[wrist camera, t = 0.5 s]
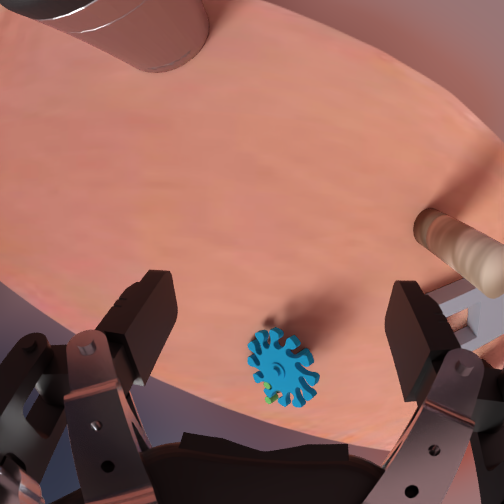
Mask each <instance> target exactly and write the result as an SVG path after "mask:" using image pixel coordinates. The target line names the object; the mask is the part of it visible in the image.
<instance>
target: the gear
mask: <svg viewBox="0 0 504 504" xmlns="http://www.w3.org/2000/svg"><path fill="white" fill-rule="evenodd" d="M269 335H270V339H271V343H270V345H269V344H268V341H267V340H268V337H269ZM283 335H284V333H283V331H282V330H281V329H279V328H277V327H275V328H273V329H271V330H270V331H269V333H268V331H267V330H261V331H259V332H257V333H255V336H256V338H257V339H255V340H253V341H251V342H250V343H249V344H248V348H249V350H251V351H252V352H253V353H254V354H253V355H251V356H249V357H248V364H249V365H250V366H253V367H256V368H257V369H259V370H260V371H258V372H256V373H254V374H253V377H254V380H255V382H256V383H260V382H262V381H264V386H265V389H264V392H265V394H266V395H267V397H265V401H266V402H267V403H268V404H271V403H272V402H274V401H275V400H277V399H278V395H277V393H280V392H282V394H283V396H282V397H280V398H279V399H278V403H280V404H281V405H282V406H284V407H286V406H287V405H288V404H290V403H291V399H290V393H292V394H293V396H294V399H293V401H292V404H293V406H295V407H302V406H304V405H305V404H306V401H309V400H311V399H312V398H313V397H314V396H315V395H316V394H317V392H316V391H315V390H314V389H313V388H311V387H310V386H314V385H315V384H316V383H318V381H319V377H320V375H319V374H318V373H317V372H311V371H308V370H306V369H305V368H304V367H303V366H305V367H308V366H310V365H311V364H313V363H314V359H313V356H312V353H310V351H309V349H307V348H305V349H303V350H302V351H300V352H299V353H297V354H293V353H292V352H291V350H290V349H292V350H293V349H295V348H297V347H298V346H300V344H301V342H300V341H299V339H298V338H297V337H296V336H295V335H293V336H291V337H289V338H288V339H287V340H286V344H285V346H284V347H282V346H281V345H280V344H279V342H278V340H279V339H280V338H281V337H283ZM260 345H261V348H260ZM261 349H262V350H261ZM300 363H301V364H302V365H303V366H301V364H300ZM304 378H305V379H306V381H307V383H308V384H309V385H310V386H309V385H308V384H307V383H306V381H305V379H304ZM300 389H301V390H302V391H303V396H302V394H301V392H300ZM303 397H304V398H303ZM305 400H306V401H305Z"/></svg>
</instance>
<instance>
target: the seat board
mask: <svg viewBox="0 0 504 504" xmlns="http://www.w3.org/2000/svg"><path fill="white" fill-rule="evenodd" d="M424 295H429V296H430V297H431V298H433V299H434V300H435V301H436V302H437V303H438V304H439V306H440V308H441V310H442V312H443V315H445V317H448V316H451V315H453V314H455V313H457V312H459V311H462V310H464V309H466V308H468V320H467V326H466V327H464V328H462V329H460V330H458V331H456V332H454V334H455V336H456V338H457V340H458V342H459V344H460V346H461V348H462V349H467V350H470V351H474V350H475V349H477V348H479V347H481V346H483V345H485V344H487V343H488V342H490V341H492V340H494V339H495V338H497V337H499V336H501V335H502V334H504V294H503V295H501V296H500V297H498V298H495V299H491V298H488V297H487V296H486V295H484V294H483V293H482V292H481V291H480V290H478V289H477V288H476V287H475V286H474V285H472V284H471V283H470V282H469V281H468V280H466V279H465V278H463V279H460V280H458V281H456V282H453V283H451V284H449V285H446V286H444V287H441V288H439V289H437V290H434V291H432V292H429V293H427V294H424Z"/></svg>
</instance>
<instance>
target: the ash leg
mask: <svg viewBox="0 0 504 504" xmlns="http://www.w3.org/2000/svg"><path fill="white" fill-rule="evenodd" d="M413 232H414V237H415V239H416V240H417V242H418V243H420V244H421V245H422V246H424V247H425V248H426V249H428V250H429V251H430V252H432V253H433V254H434V255H436V256H437V257H438V258H440V259H441V260H442V261H444V262H445V263H446V264H447V265H449V266H450V267H451V268H453V269H454V270H455V271H456V272H458V273H459V274H460V275H461V276H463V277H464V278H465V279H466V280H468V281H469V282H470V283H471V284H472V285H474V286H475V287H476V288H477V289H478V290H480V291H481V292H482V293H483V294H484V295H486V296H487V297H488V298H491V299H495V298H498V297H500V296H501V295H503V294H504V245H503V244H502V243H500V242H498V241H496V240H494V239H493V238H491V237H489V236H487V235H485V234H484V233H482V232H480V231H478V230H476V229H474V228H472V227H470V226H468V225H467V224H465V223H463V222H461V221H459V220H457V219H455V218H453V217H451V216H449V215H447V214H445V213H442V212H440V211H438V210H436V209H433V208H429V209H425V210H424V211H422V212H421V213H420V214H419V215H418V216H417V218H416V220H415V223H414V227H413Z"/></svg>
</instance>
